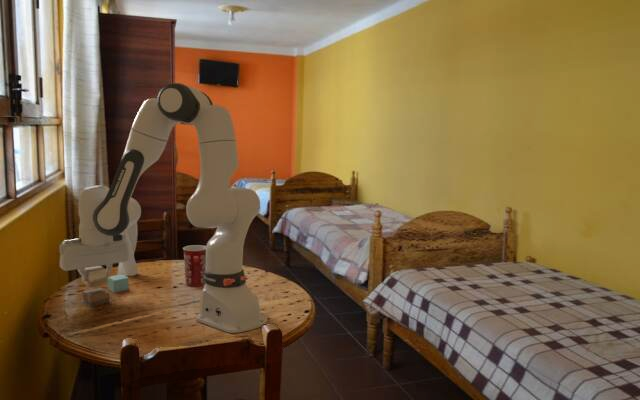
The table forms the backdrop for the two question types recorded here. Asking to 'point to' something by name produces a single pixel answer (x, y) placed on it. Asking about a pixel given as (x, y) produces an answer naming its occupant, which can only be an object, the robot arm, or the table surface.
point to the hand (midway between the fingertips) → (95, 279)
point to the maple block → (96, 276)
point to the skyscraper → (130, 264)
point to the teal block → (118, 283)
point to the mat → (95, 304)
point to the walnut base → (96, 296)
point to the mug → (194, 264)
